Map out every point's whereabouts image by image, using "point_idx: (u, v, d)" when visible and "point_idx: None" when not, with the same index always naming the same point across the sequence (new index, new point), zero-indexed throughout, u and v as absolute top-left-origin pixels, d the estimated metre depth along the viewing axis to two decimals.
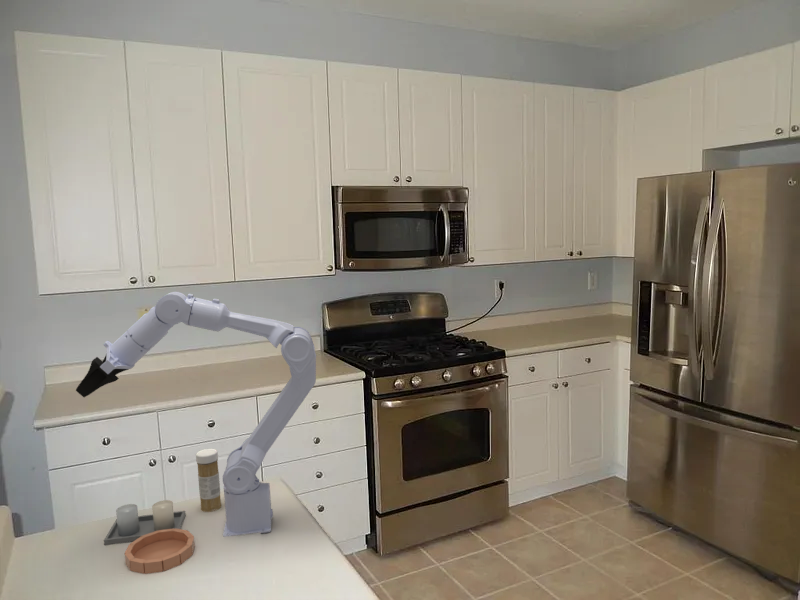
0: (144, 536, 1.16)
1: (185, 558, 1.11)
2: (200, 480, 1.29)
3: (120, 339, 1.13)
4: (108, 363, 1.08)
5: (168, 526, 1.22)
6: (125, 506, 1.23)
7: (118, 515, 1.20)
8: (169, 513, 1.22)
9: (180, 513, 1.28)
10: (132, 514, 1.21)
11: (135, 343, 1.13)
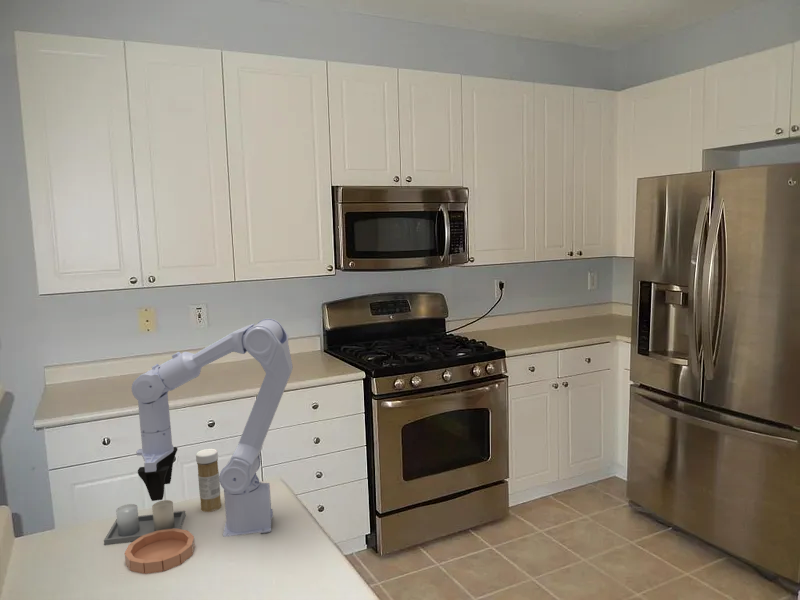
0: (144, 536, 1.16)
1: (185, 558, 1.11)
2: (200, 480, 1.29)
3: (142, 441, 1.19)
4: (147, 464, 1.14)
5: (168, 526, 1.22)
6: (125, 506, 1.23)
7: (118, 515, 1.20)
8: (169, 513, 1.22)
9: (180, 513, 1.28)
10: (132, 514, 1.21)
11: (154, 433, 1.18)
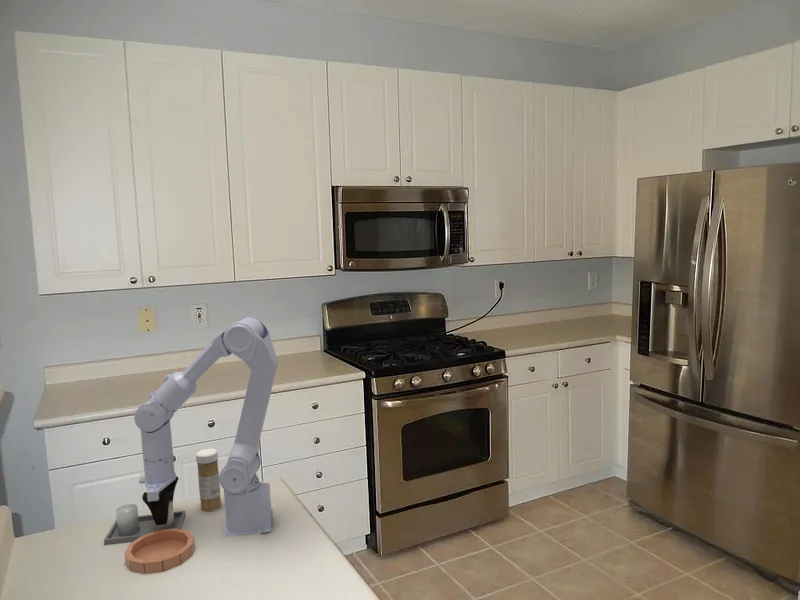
0: (144, 536, 1.16)
1: (185, 558, 1.11)
2: (200, 480, 1.29)
3: (145, 469, 1.20)
4: (150, 493, 1.15)
5: (168, 526, 1.22)
6: (125, 506, 1.23)
7: (118, 515, 1.20)
8: (169, 513, 1.22)
9: (180, 513, 1.28)
10: (132, 514, 1.21)
11: (156, 462, 1.19)
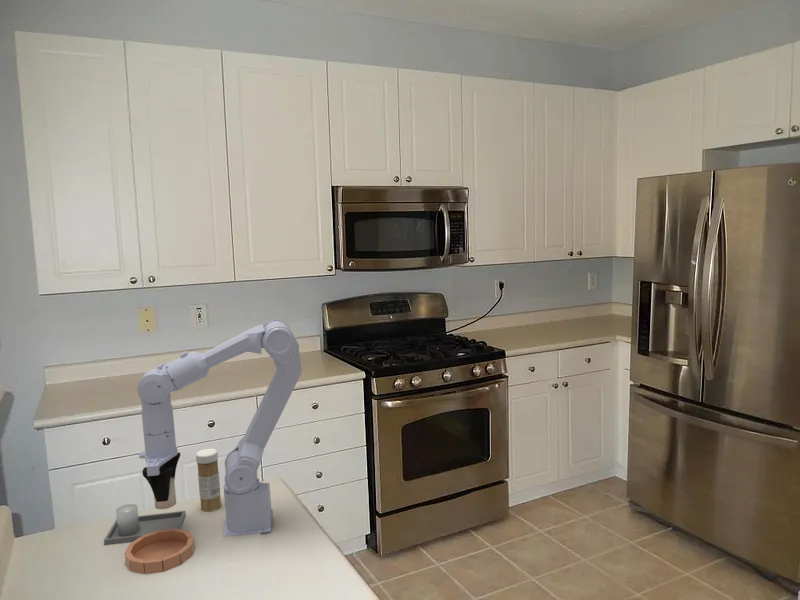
0: (144, 536, 1.16)
1: (185, 558, 1.11)
2: (200, 480, 1.29)
3: (145, 443, 1.15)
4: (150, 468, 1.10)
5: (170, 503, 1.17)
6: (125, 506, 1.23)
7: (118, 515, 1.20)
8: (170, 489, 1.17)
9: (180, 513, 1.28)
10: (132, 514, 1.21)
11: (157, 435, 1.14)
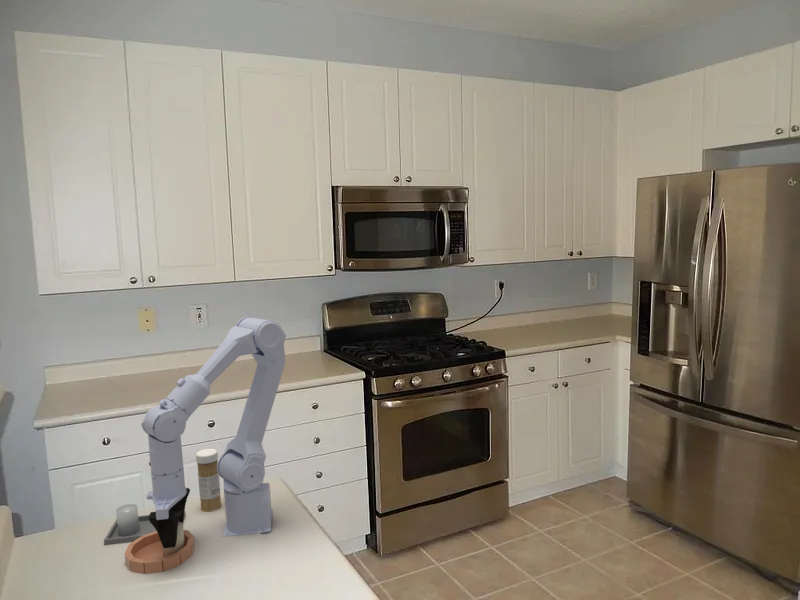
0: (144, 536, 1.16)
1: (185, 558, 1.11)
2: (200, 480, 1.29)
3: (153, 484, 1.10)
4: (159, 511, 1.05)
5: None
6: (125, 506, 1.23)
7: (118, 515, 1.20)
8: (179, 536, 1.12)
9: None
10: (132, 514, 1.21)
11: (165, 476, 1.09)
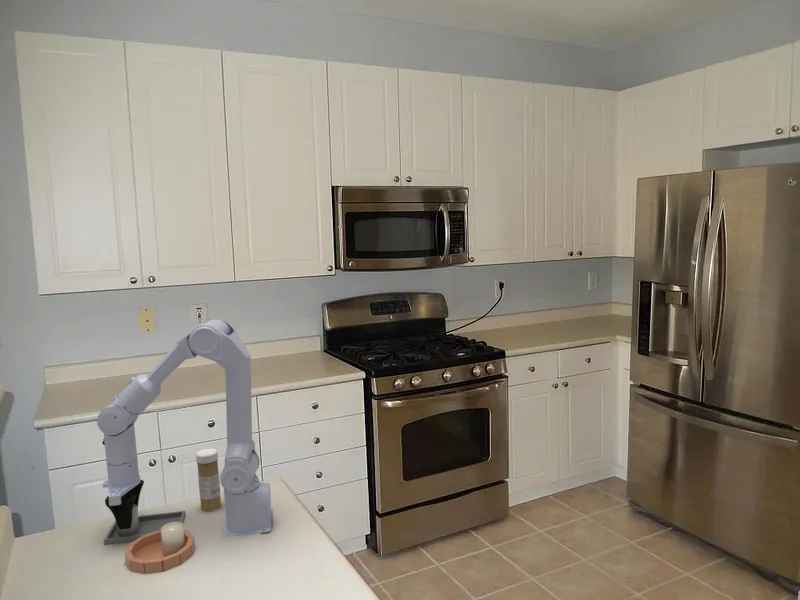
0: (144, 536, 1.16)
1: (185, 558, 1.11)
2: (200, 480, 1.29)
3: (108, 473, 1.19)
4: (112, 498, 1.14)
5: None
6: None
7: None
8: (179, 536, 1.12)
9: (180, 513, 1.28)
10: (132, 514, 1.21)
11: (119, 465, 1.18)
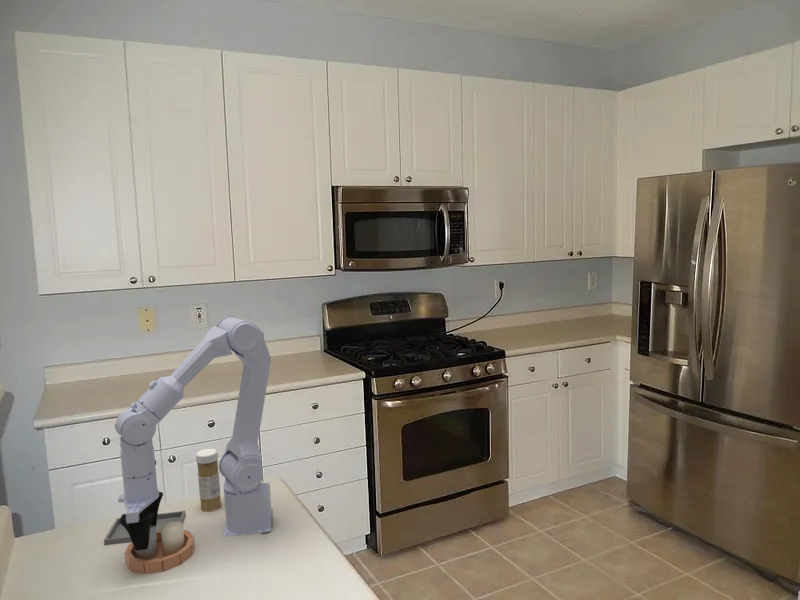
0: None
1: (185, 558, 1.11)
2: (200, 480, 1.29)
3: (124, 487, 1.09)
4: (129, 514, 1.04)
5: None
6: None
7: None
8: (179, 536, 1.12)
9: (180, 513, 1.28)
10: (151, 536, 1.11)
11: (137, 479, 1.08)
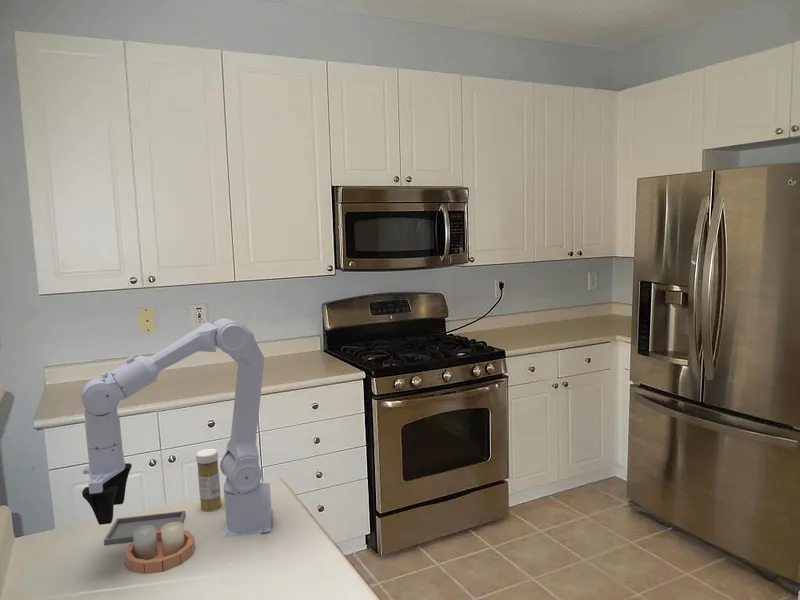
0: None
1: (185, 558, 1.11)
2: (200, 480, 1.29)
3: (89, 458, 1.07)
4: (92, 485, 1.02)
5: None
6: (142, 527, 1.13)
7: (135, 538, 1.10)
8: (179, 536, 1.12)
9: (180, 513, 1.28)
10: (150, 536, 1.11)
11: (101, 449, 1.06)
